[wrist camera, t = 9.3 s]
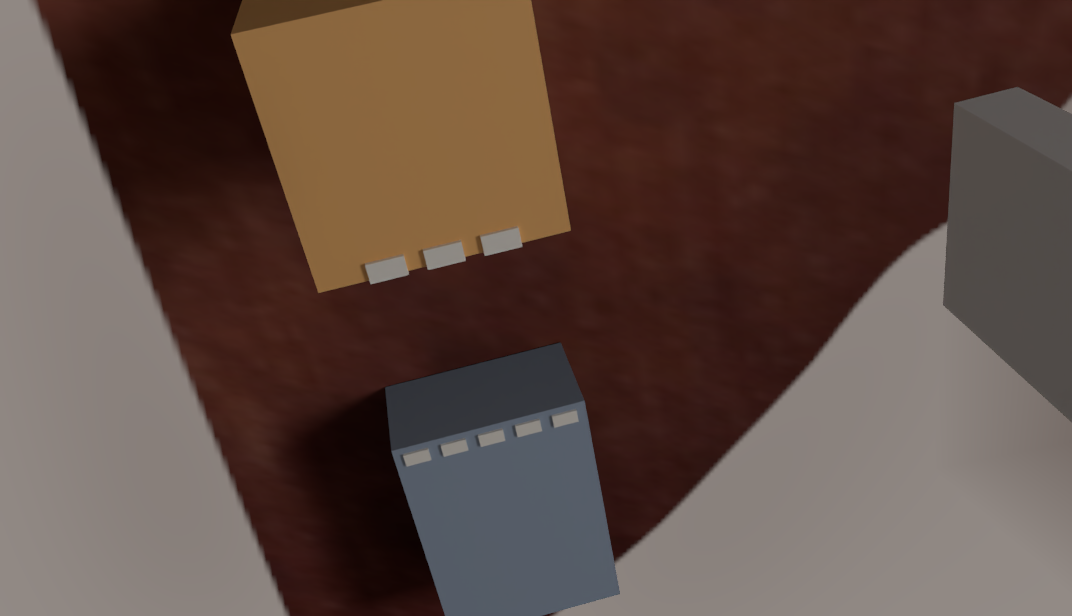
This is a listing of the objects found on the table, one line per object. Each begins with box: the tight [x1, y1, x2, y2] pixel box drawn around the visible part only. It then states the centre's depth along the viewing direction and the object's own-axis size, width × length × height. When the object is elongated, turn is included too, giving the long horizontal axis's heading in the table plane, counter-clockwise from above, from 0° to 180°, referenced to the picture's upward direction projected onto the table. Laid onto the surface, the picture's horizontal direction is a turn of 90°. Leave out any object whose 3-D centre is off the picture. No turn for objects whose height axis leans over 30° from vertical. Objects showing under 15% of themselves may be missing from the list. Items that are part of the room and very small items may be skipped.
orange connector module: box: [230, 0, 571, 293], centre depth 25 cm, size 6×6×11 cm
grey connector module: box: [385, 343, 620, 616], centre depth 38 cm, size 10×7×4 cm
